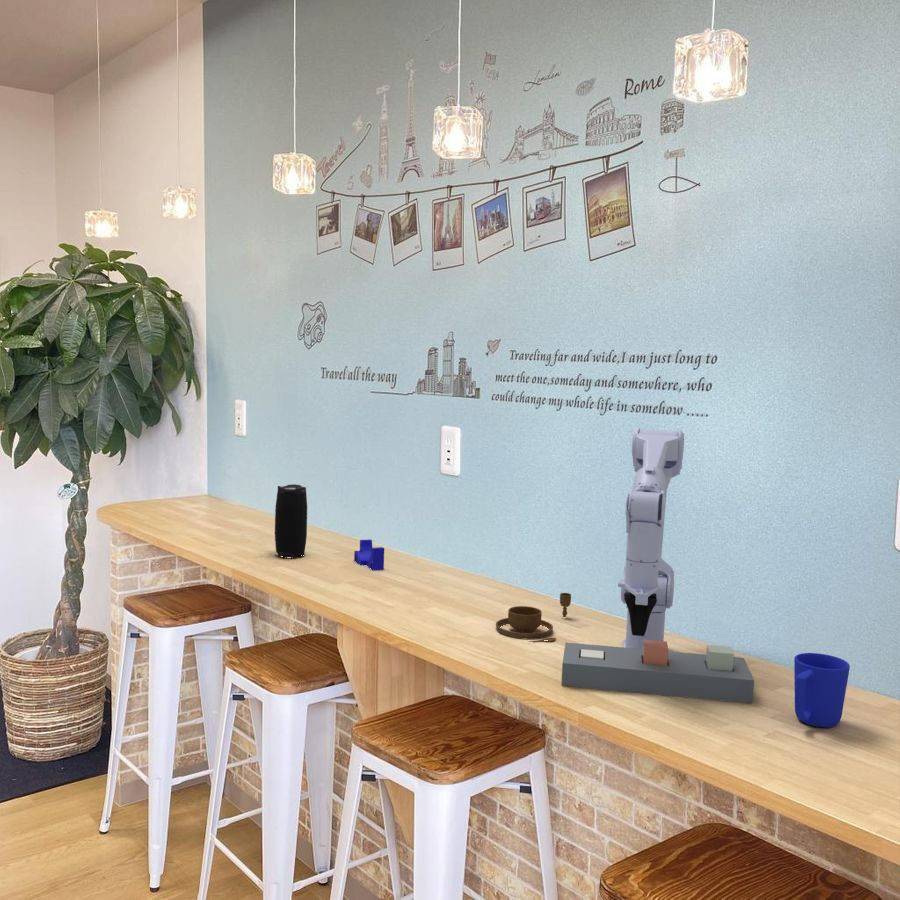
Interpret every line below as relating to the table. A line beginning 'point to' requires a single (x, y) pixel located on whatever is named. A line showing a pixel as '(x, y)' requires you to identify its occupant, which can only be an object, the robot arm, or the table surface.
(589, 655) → the white cube
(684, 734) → the table surface
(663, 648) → the terracotta button
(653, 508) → the robot arm
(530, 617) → the place setting
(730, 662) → the sage button
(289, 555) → the portable speaker
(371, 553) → the blue blocky piece
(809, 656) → the mug
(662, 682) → the button panel
